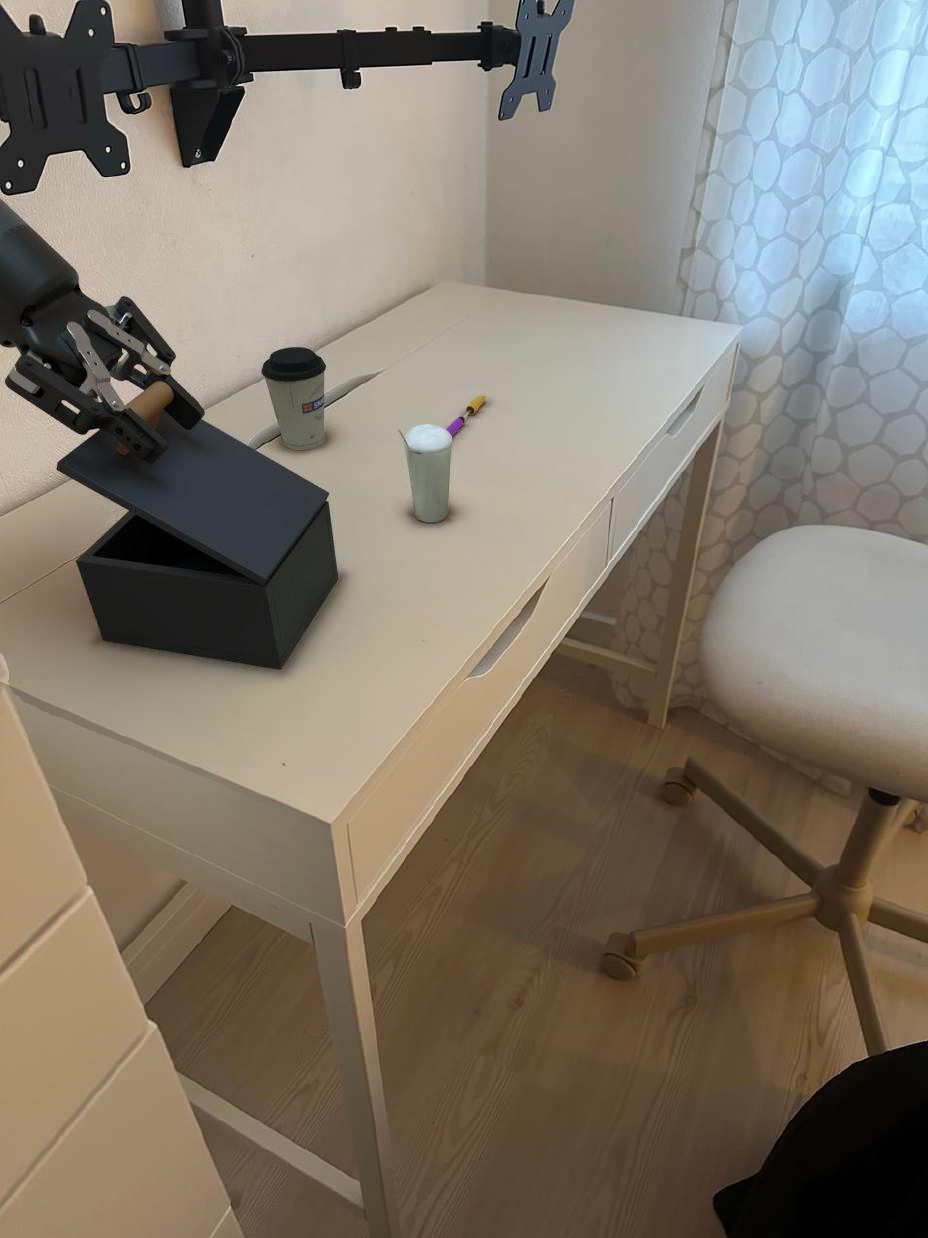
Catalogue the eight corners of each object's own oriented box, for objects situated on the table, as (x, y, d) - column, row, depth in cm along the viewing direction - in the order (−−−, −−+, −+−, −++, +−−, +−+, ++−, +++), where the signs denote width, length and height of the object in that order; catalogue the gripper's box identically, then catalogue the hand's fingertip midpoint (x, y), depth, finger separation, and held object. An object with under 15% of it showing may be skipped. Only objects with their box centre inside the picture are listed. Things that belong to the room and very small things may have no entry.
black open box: (102, 640, 73) (75, 560, 68) (179, 556, 83) (160, 480, 78) (280, 669, 70) (265, 587, 65) (338, 577, 80) (328, 500, 75)
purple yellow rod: (436, 456, 97) (489, 400, 109) (433, 446, 97) (487, 391, 108) (415, 457, 98) (469, 402, 110) (412, 448, 98) (467, 393, 109)
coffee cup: (260, 448, 100) (245, 361, 94) (295, 423, 105) (283, 339, 99) (313, 459, 98) (301, 371, 92) (346, 433, 103) (337, 348, 97)
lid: (55, 470, 63) (66, 415, 60) (148, 396, 73) (162, 346, 70) (262, 586, 65) (283, 538, 62) (326, 499, 75) (347, 454, 72)
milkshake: (392, 515, 88) (385, 421, 82) (436, 498, 91) (432, 405, 85) (418, 534, 85) (413, 438, 79) (463, 516, 88) (461, 422, 82)
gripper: (-65, 252, 54) (156, 453, 59) (71, 198, 65) (248, 371, 70) (-105, 331, 59) (104, 512, 64) (29, 267, 70) (199, 426, 75)
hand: (179, 437), depth 67 cm, fingers closed on lid, 5 cm apart
